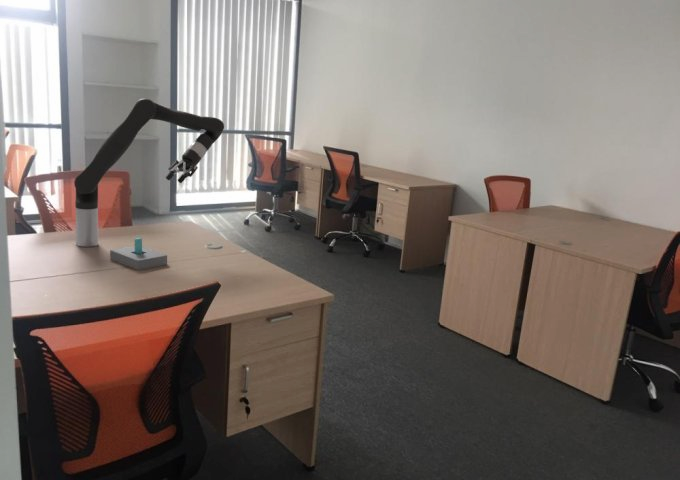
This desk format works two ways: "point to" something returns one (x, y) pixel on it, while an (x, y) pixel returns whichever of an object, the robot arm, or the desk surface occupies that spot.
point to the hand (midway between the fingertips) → (173, 180)
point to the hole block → (138, 258)
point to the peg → (138, 246)
